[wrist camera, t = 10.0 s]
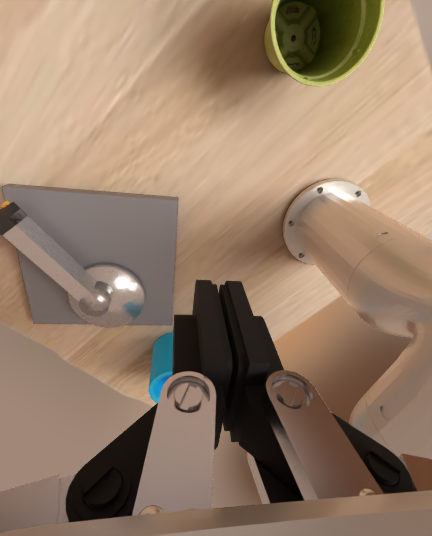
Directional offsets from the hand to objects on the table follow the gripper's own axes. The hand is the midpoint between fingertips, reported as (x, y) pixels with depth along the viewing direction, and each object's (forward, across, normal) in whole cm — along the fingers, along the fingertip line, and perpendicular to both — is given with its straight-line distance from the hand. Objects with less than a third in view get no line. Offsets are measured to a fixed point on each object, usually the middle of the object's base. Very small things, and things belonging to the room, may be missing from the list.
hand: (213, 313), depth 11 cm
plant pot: (+29, -10, -14) cm, 34 cm away
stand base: (+29, +11, +14) cm, 34 cm away
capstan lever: (+27, +14, +14) cm, 34 cm away
